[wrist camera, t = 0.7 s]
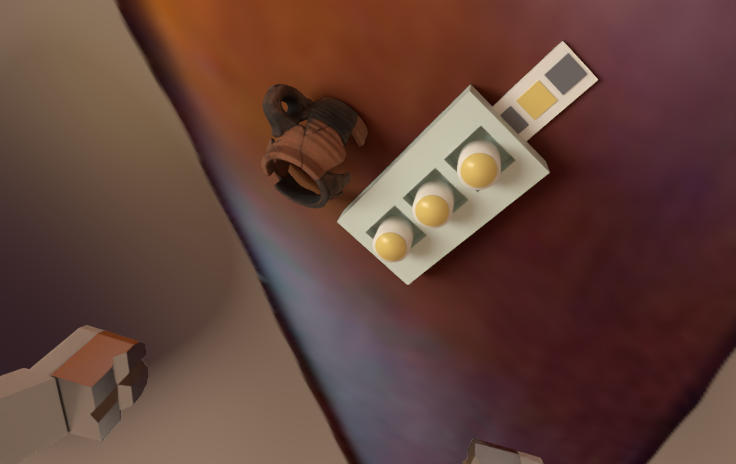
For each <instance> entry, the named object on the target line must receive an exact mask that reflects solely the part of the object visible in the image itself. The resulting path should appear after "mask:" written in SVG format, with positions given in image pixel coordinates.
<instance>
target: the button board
mask: <svg viewBox="0 0 736 464" xmlns="http://www.w3.org/2000/svg"><path fill="white" fill-rule="evenodd" d="M475 139H485V140H488V141H490V142H492V143H493V144H494V145H495V146H496V147H497V148H498V150H499V153H500V162H501V173H500V176H499V179H498V180H497V181H496V183H495V184H494V185H492V186H491V187H489V188H487V189H483V190H474V189H470V188H468V187H466V186H465V185H464V184H462V182H461V181H460V180H459V178H458V175H457V165H458V159H459V154H460V151H461V149H462V148H463V147H464V145H466V144H467V143H468V142H470V141H472V140H475ZM549 173H550V172H549V169H548V166H547V163H546V161H545V160H544V159H543V158H542V157H541V156H540V155H539V154H538V153H537V152H536V151H535V150H534V149H533V148H532V147H531V146H530V145H529V143H528V142H527V141H525V140H524V139H523V138H522V137H521V136H520V135H519V134H518V133H517V132H516V131H515V130H514V129H513V128H512V127H511V126H510V125H509V124H508V123H507V122H506V121H505V120H504V119H503V118H502V117H501V116H500V115H499V114H498V113H497V112H496V111H495V110H494V109H493V108H492V106H491V105H490V104H489V103H488V102H487V100H486V99H485V98H484V97H483V96H482V95H481V94H480V93H479V92H478V91H477V90H476V89H475V88H474V87H473V86H472V85H471V84H470V85H469V86H468V87H467V88H466V89H465V90H464V91H463V92H462V93H461V94H460V95H459V96H458V97H457V98H456V99H455V100H454V101H453V102H452V103H451V104H450V105H449V106H448V107H447V108H446V109H445V110H444V111H443V112H442V113H441V114H440V115H439V116H438V117H437V118H436V119H435V120H434V121H433V122H432V123H431V124H430V125H429V126H428V127H427V128H426V129H425V130H424V131H423V132H422V133H421V134H420V135H419V136H418V137H417V138H416V139H415V140H414V141H413V142H412V143H411V144H410V145H409V146H408V147H407V148H406V149H405V150H404V151H403V152H402V153H401V154H400V155H399V156H398V157H397V158H396V159H395V160H394V161H393V162H392V163H391V164H390V165H389V166H388V167H387V168H386V169H385V170H384V171H383V172H382V173H381V174H380V175H379V176H378V177H377V178H376V179H375V180H374V181H373V182H372V183H371V184H370V185H369V186H368V187H367V188H366V189H365V190H364V191H363V192H362V193H361V194H360V195H359V196H358V197H357V198H356V199H355V200H354V201H353V202H352V203H351V204H350V205H349V206H348V207H347V208H346V209H345V210H344V211H343V213H342V215H341V216H340V218H339V219H338V221H337V222H338V223H339V224H340V225H341V226H342V227H343V228H345V229H346V230H347V231H348V232H349V233H350V234H351V235H352V236H353V237H355V238H356V239H357V240H358V241H359V242H360V243H361V244H362V245H363V246H365V247H366V248H367V249H368V250H369V251H370V252H371V253H372V254H373V255H375V256H376V257H377V258H378V259H379V260H380V261H381V262H382V263H384V264H385V265H386V266H387V267H388V268H389V269H390V270H391V271H392V272H394V273H395V274H396V275H397V276H398V277H399V278H400V279H401V280H402V281H404V282H405V283H406V284H407V285H408V284H410V283H411V282H412V281H414V280H415V279H416V278H417V277H419V276H420V275H421V274H422V273H424V272H425V271H426V270H427V269H429V268H430V267H431V266H432V265H434V264H435V263H436V262H438V261H439V260H440V259H441V258H443V257H444V256H445V255H446V254H448V253H449V252H450V251H451V250H453V249H454V248H455V247H456V246H458V245H459V244H460V243H462V242H463V241H464V240H465V239H467V238H468V237H469V236H470V235H472V234H473V233H474V232H475V231H477V230H478V229H479V228H480V227H482V226H483V225H484V224H485V223H487V222H488V221H489V220H491V219H492V218H493V217H494V216H496V215H497V214H498V213H499V212H501V211H502V210H503V209H504V208H506V207H507V206H508V205H509V204H511V203H512V202H513V201H515V200H516V199H517V198H518V197H520V196H521V195H522V194H523V193H525V192H526V191H527V190H528V189H530V188H531V187H532V186H533V185H535V184H536V183H537V182H539V181H540V180H541V179H542V178H544V177H545V176H546V175H547V174H549ZM429 180H441V181H444V182H446V183H447V184H448V185H449V186H450V187H451V188H452V190H453V192H454V195H455V200H454V206H453V213H452V217H451V219H450V220H449V222H448V223H447V224H446V225H444V226H442V227H440V228H433V229H432V228H427V227H424V226H422V225H420V224H419V223H418V222H417V221H416V220H415V218H414V216H413V213H412V206H413V203H414V200H415V197H416V194H417V191H418V189H419V187H420V186H421V185H422V184H423V183H425V182H427V181H429ZM390 216H400V217H403V218H405V219H407V220H408V221H409V222H410V223H411V224H412V226H413V229H414V238H413V241H412V244H411V248H410V251H409V254H408V256H407V257H406V258H405V259H404V260H402V261H400V262H395V263H391V262H386V261H384V260H382V259H380V258H379V257H378V256H377V255H376V254H375V252H374V250H373V239H374V237H375V235H376V233H377V230H378V228H379V226H380V224H381V222H382V221H383V220H384V219H385V218H387V217H390Z"/></svg>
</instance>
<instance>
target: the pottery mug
mask: <svg viewBox="0 0 736 464" xmlns="http://www.w3.org/2000/svg"><path fill="white" fill-rule="evenodd" d="M281 101H283V102H286V103H287V105H288V110H287V112H285V111H284V109H283V108H282V105H281ZM263 110H264V113H265V115H266V117H267V119H268V121H269V123H270V125H271V127H272V135H273V136H274V137H278V138H277V139H276V140H275V141H274V139H272V138H271V139H270V140H269V143H268V146H267V153H265V155H264V156H263V157H262V159H261V166H262V170H263V172H264V174H265V175H266V176H270V175H271V174H272V173H274V174H275V175H276V176H277V177H278V178H279V182H278V183H276V184H275V188H276V189H277V190H278V191H279V192H280V193H281V194H282V195H284V196H285V197H287V198H288V199H290V200H291V201H293V202H295V203H297V204H300V205H303V206H306V207H308V208H321V207H323V206H325V204H326V203H327V201H328V200H331V199H334V198H337V197H339V196H341V195H343V192H342V191H341V190H342V189H343V188H344V186H345V185H347V184H348V183H349V182H350V177H351V174H350V172H346V173H344V174H342V175H341V174H334V173H331V172H328V170H331V169H333V168H334V167H335V166H337V165H339V164H340V163H342V162H344V160H345V157H346V149H345V147H344V145H346V143H347V141H348V138H349V136H350V134H351V135H352V136H353V138H354V139H355V141H356V143H357V145H358V146H363V144H364V143H365V139H366V137H367V134H368V130H367V127H366V125H365V124H364V122H363V120H362V119H361V118H360V117H359V116H358V114H357V113H356V112H355V111H354V110H353V109H352V108H351V107H350V106H348V105H346V104H345V103H343V102H342V101H340V100H338V99H333V98H329V97H323V98H322V99H320V100H317V101H315V102H312V101H311V100H310V99H307V98H306V97H305V96H304V95H303V94H302V93H300V92H299V91H298V90H297V89H295V88H293V87H291V86H288V85H285V84H277V85H274V86H271V87H269V89H268V92H267V94H266V95H265V96H264V99H263ZM307 119H308V122H307V125H306V127H304V126H302V125H299V122H301V121H304V120H307ZM273 159H275V160H274V161H273ZM290 163H293V164H295V165H296V166H298V167H300V168H302V169H303V170H304V171H305V172H306V173H307V174H309V175H310V176H311V177H312V178H313V180H315V181H316V183H317V185H318V187H319V189H320V191H321V194H316V193H315V192H313V191H310V190H308V189H306V188H304V187H302V186H300V185H299V184H298V183H297V182H296V181H295V179H294V178H293V177H292V176H291V175H290V174H289V173H288V169H289V165H290Z"/></svg>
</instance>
